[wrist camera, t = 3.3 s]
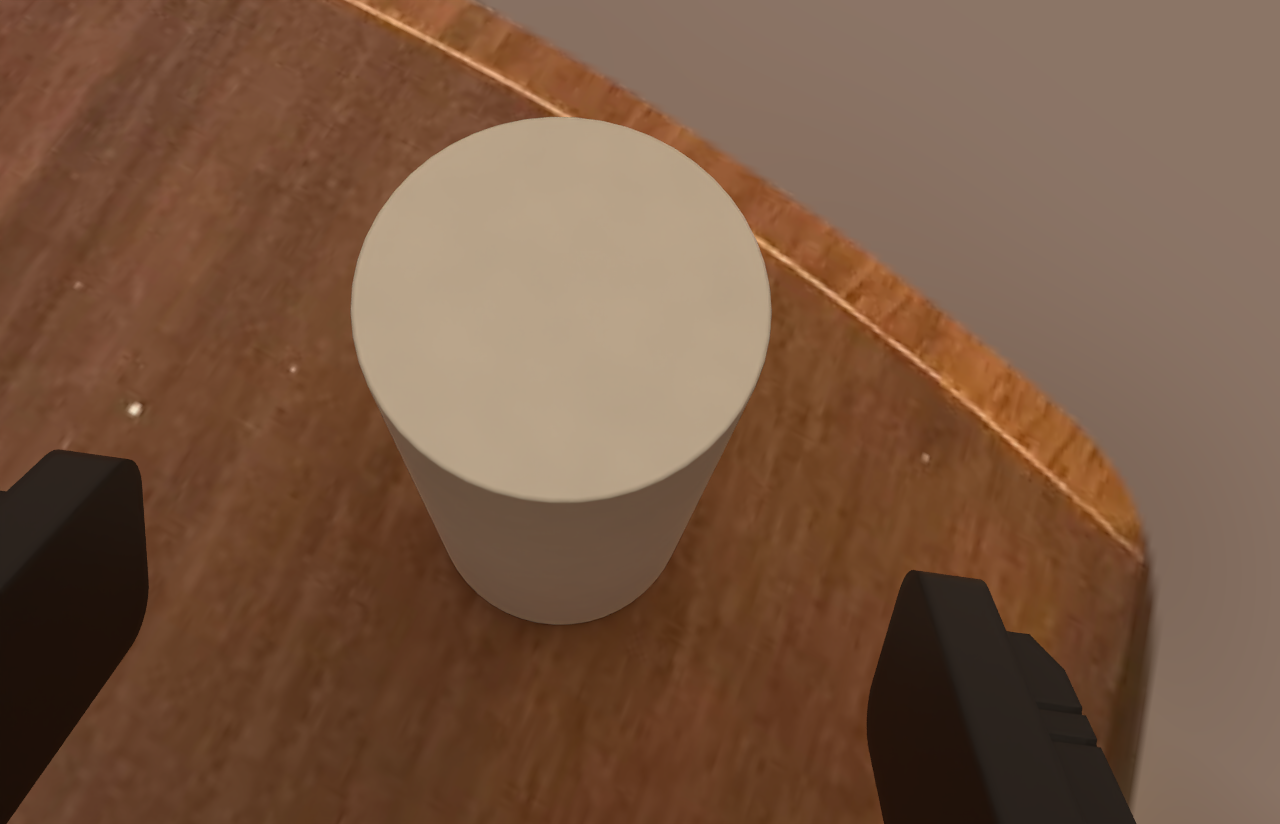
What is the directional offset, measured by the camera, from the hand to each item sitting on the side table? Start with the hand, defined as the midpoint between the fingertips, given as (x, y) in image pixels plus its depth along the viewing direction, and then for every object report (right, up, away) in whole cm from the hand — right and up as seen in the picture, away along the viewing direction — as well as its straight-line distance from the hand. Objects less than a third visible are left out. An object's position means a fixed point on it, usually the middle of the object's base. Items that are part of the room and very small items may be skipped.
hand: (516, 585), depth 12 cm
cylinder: (0, 0, +8) cm, 8 cm away
